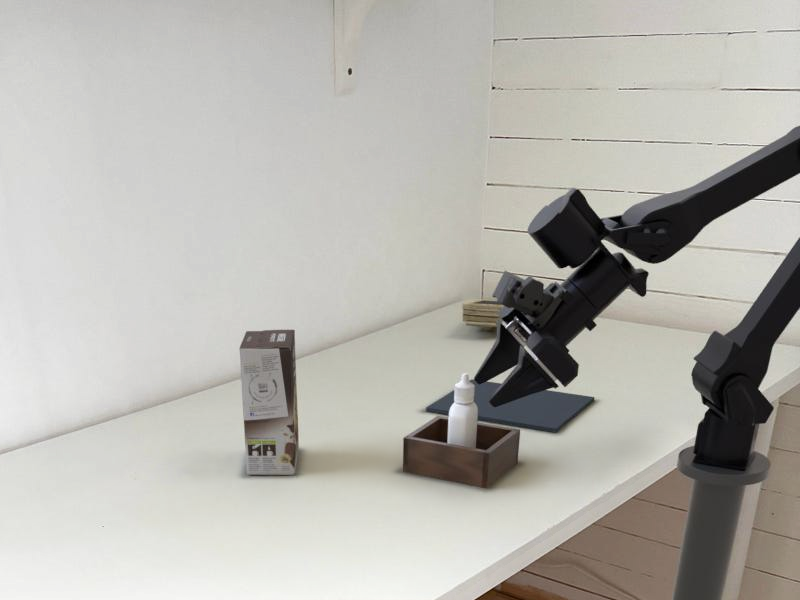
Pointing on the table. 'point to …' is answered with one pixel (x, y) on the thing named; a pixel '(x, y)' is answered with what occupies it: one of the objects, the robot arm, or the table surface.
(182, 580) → the table surface
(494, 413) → the desk mat
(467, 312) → the box
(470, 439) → the eye dropper bottle
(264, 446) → the coffee box
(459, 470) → the desk box
